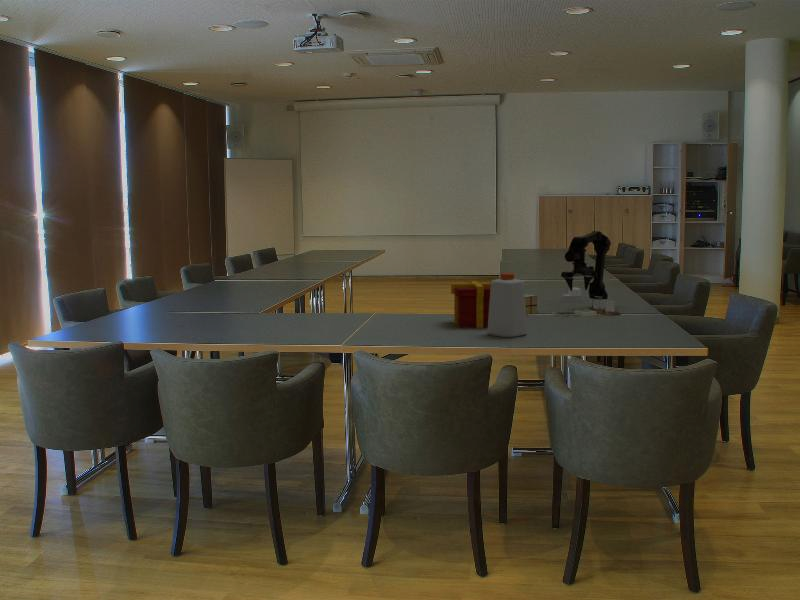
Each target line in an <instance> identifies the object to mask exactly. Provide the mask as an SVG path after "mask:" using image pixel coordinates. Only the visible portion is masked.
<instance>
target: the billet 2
mask: <svg viewBox="0 0 800 600" xmlns="http://www.w3.org/2000/svg"><path fill="white" fill-rule="evenodd" d="M615 303H616V302H615V300H606V301H605V312H606V313H614V312H615V311H616V310H615V309H616V308H615V307H616V305H615Z"/></svg>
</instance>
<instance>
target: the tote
mask: <svg viewBox="0 0 800 600" xmlns="http://www.w3.org/2000/svg"><path fill="white" fill-rule="evenodd" d="M564 312H570V313H569V314H565V313H564ZM550 314H551V315H556V316H560V317H570V316H572V315H573V314H575V311H571V310H563V311H561V312H558V311H551V312H550Z"/></svg>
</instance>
